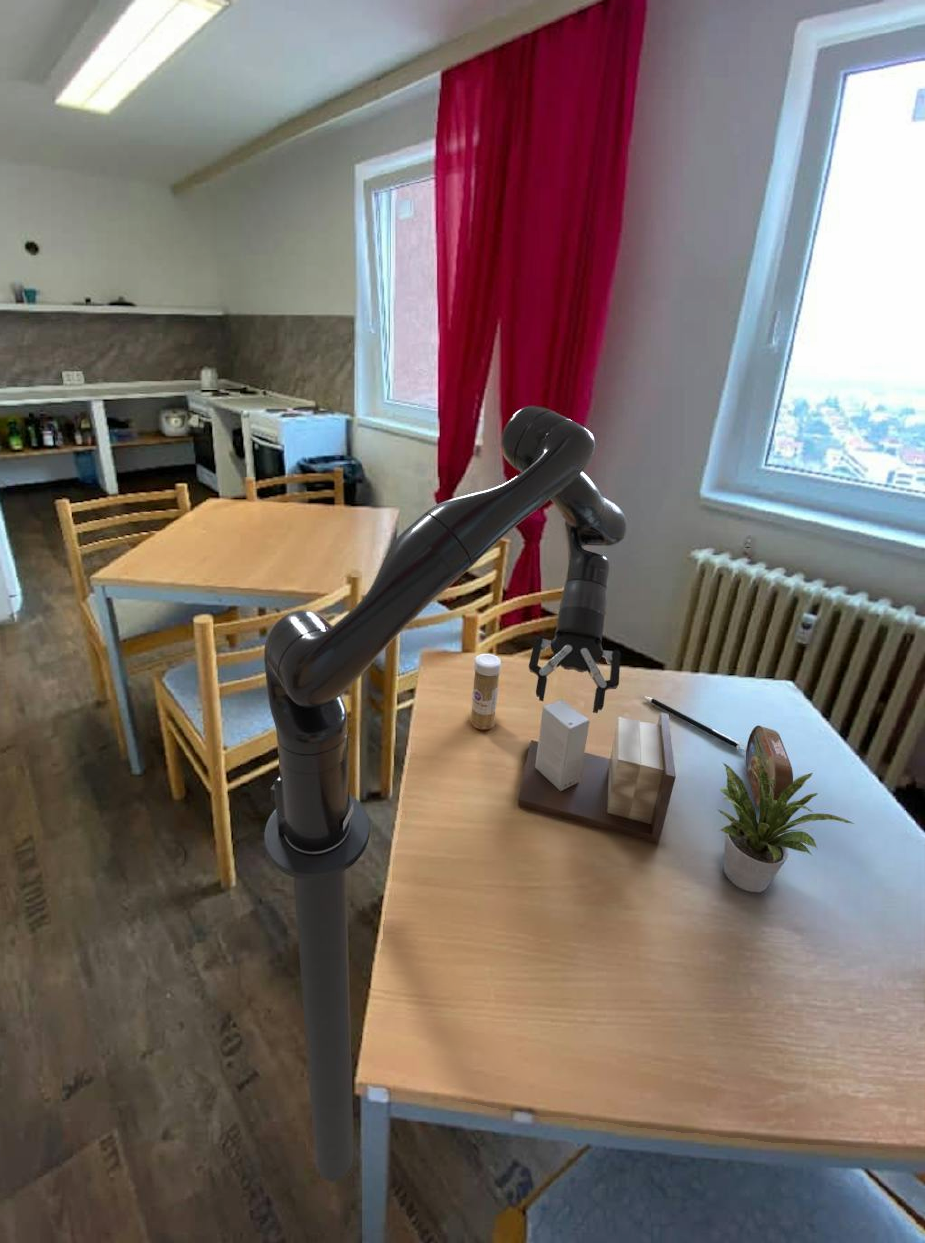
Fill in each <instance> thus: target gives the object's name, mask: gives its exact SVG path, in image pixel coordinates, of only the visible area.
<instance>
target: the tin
mask: <svg viewBox="0 0 925 1243" xmlns="http://www.w3.org/2000/svg"><path fill="white" fill-rule="evenodd" d="M745 749H746V751H745V757H744V758H745V760H744V761H745V770H746V773H747V777H748V780H749V784H750V787H751V791H752V795H753V799H754V802H755V805H756V806H757V808H759V806H760V782H759V780H758V778H757V777H756V775H755V774H754V772H753V771H752V769H753V770H754V771H755V772H756V774H757V775H758V777H759V778H760V775H759V771H758V768H757V764H756V761H755V758H754V754H753V751H754V753H755V754H756V755H757V756H758V758H759V760H760V762H761V764H762V765H763V767H764V768H765V770H766V772H767V774H768V778H769V784H770V786H771V788H772V790H773V793H774V800H777V801H778V799H779V796H780V794H781V793H782V792H783V791H784V790H785V789H786V788H787V787H788V786H789V785H790V784H791V783H793V782H794V771H793V767H792V764H791V761H790V759H789V758H790V757H789V756H788V753H787V751H786V748H785V746H784V742H783V740H782V737H781V735H780V733H778V731H776V730H774V729H771V728H768V727H764V726H762V725H756V726H755V727H753V729H752V730H751V732H750V734H749V737H748V739H747V744H746V748H745ZM750 767H751V768H752V769H751V768H750ZM771 788H770V793H771ZM787 804H788V802H787V803H786V804H785V806H786V805H787Z"/></svg>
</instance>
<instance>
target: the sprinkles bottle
mask: <svg viewBox="0 0 925 1243" xmlns="http://www.w3.org/2000/svg"><path fill="white" fill-rule="evenodd" d="M473 668H474V677H473V689H472V697H471V713H470V719H469V721H470V723H471V725H472V726H473V727H474V728H476V729H477V730H483V731H485V730H489V729H491V728H494V726H495V724H496V711H497V704H498V703H497V702H498V694H499V679H500V673H501V670H502V660H501V659H500V657H499V656H497V655H495V654H492V653H481V654H478V655H477V656H476V657H475V659H474V666H473Z"/></svg>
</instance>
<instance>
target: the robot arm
mask: <svg viewBox="0 0 925 1243" xmlns="http://www.w3.org/2000/svg"><path fill="white" fill-rule="evenodd" d="M595 441H596V440H595V437H594V435H593V433H592V432H591V431H590V430H589V429H587V428H586V427H584V426H582V425H581V424H580V423H578V422H576V421H574V420H571V419H570V418H567V416H564V415H561V414H560V413H558V412H556V411H554V410H552V409H550V408H547V407H545V406H540V405H528V406H525V407H522V408H521V409H519V410H517V411H516V412H515V413H514V414H513V415H512V417H510V419H509V420H508V422H507V423H506V425H505V426H504V429H503V432H502V434H501V440H500V448H501V453H502V456H503V457H504V459H505V461H507V462H508V464H509V465H510V466H511V467H513V468H514V469H515V470H516V471H519V473H518V474H517V475H516V476H514V477H513V478H511V479H509V480H508V481H506V482H504V483H502V484H500V485H498V486H495V487H493V488H488V489H485V490H481V491H478V492H477V491H476V492H473V493H470V494H466V495H462V496H458V497H454V498H451V499H448V500H445V501H443V502H439V503H438V504H435V505H434V506H432V507H431V508H430V509H428V510H427V511H425V513H423V514H422V515H420V517H418V519H416V520H415V521H414V522H413V523H411V525H409V526H408V527H407V528H406V529H404V531H403V532H402V533H400V534H399V535H398V537H396V539H395V540H394V541H393V543H392V544H391V546H389V549H388V551H387V553H386V555H385V556H384V559H383V561H382V563H381V565H380V567H379V570H378V572H377V575H376V577H375V579H374V581H373V582H372V584H371V586H370V588H369V589H368V591H367V593H366V594H365V595H364V596H363V598H362V599H361V600H360V601H359V602H358V604H357V605H355V607H354V608H352V609H351V610H350V611H348V613H347V614H345V616H343V617H342V618H341V619H340V620H339V621H337V622H336V623H335V624H334V625H332V623H331V622H330V621H328V619H327V618H326V617H325V616H323V615H321V614H320V613H318V612H315V611H312V610H307V609H306V610H304V609H303V610H295V611H292V612H290V613H287V614H285V615H284V616H282V617H281V618H280V619H278V621H276V622H275V624H274V625H273V626H272V628H271V629H270V630H269V633H268V635H267V638H266V640H265V644H264V650H263V657H264V662H263V663H264V671H265V680H266V681H265V682H266V687H267V696H268V704H269V710H270V713H271V717H272V719H273V723H274V726H275V734H276V742H277V743H276V744H277V745H276V746H277V756H278V769H279V775H278V777H277V778H276V779H275V780H274V783H273V785H272V786H271V787H270V788H269V790H270V791H269V792H270V802H271V803H275V809H276V812H277V823H278V835H279V836H281V837H284V838H285V840H286V842H287V844H288V845H289V847H290V848H291V849H293V850H294V851H296V852H297V853H300V854H303V855H307V856H320V855H324V854H328V853H330V852H332V851H334V850H336V849H337V848H339V847H340V846H341V845H342V844H343V843H344V842H345V841H346V839H347V837H348V835H349V833H350V829H351V819H350V817H351V815H352V813H353V811H354V808H353V804H352V806H351V808H350V795H351V793H350V761H349V760H350V759H349V758H350V756H349V718H348V710H347V707H346V705H345V702H344V700H343V697H342V695H343V694H344V693H346V692H347V690H349V689H350V687H352V686H353V685H354V684H355V683H356V681H358V679H360V677H361V676H362V675H363V674H364V673H365V672H366V670H367V669H368V668H369V667H371V665H372V664H373V663H374V662H375V661H376V660H377V658H378V657H379V656H380V655H381V654H382V652H384V650H385V649H386V648H387V647H388V646H389V645H390V644H391V643H392V642H393V640H395V639H396V637H397V636H398V635H399V634H401V632H402V631H404V629H406V627H408V626H409V624H411V623H412V622H413V621H414V620H415V619H416V618H417V617H418V616H419V615H420V614H421V613H422V612H423V611H424V610H426V608H427V607H429V605H431V603H433V602H434V601H435V600H436V599H437V598H438V597H439V596H440V595H441V594H442V593H444V592H445V591H447V589H449V588H450V587H451V586H453V584H454V583H456V582H457V581H458V580H459V579H460V578H461V577H462V576H464V574H465V573H466V572H468V571H469V570H470V569H471V568H472V567H473V566H474V565H475V564H476V563H477V562H478V561H479V560H480V559H481V558H482V557H483V556H485V554H486V553H488V551H490V550H491V549H492V548H493V547H494V546H496V544H498V542H499V541H500V540H502V539H503V538H504V537H505V536H506V535H507V534H508V533H509V532H511V531H512V530H513V529H514V528H516V526H518V525H519V524H520V523H522V522H523V521H524V520H525V519H527V518H528V517H529V516H531V515H532V514H533V513H534V512H536V511H537V510H539V509H540V508H541V507H542V506H544V505H545V504H547V503H548V502H549V501H551V503H552V504H553V505H554V507H555V508H556V509H557V511H558V512H559V513H560V515H561V517H562V518H563V519H564V533H565V538H566V545H567V560H568V561H567V569H566V575H565V582H564V587H563V590H562V594H561V597H560V602H559V609H558V617H557V621H556V629H555V635H554V637H553V639H552V640H550V639H546V638H543V637H542V636H541V635H537V636H535V638H534V641H533V646H532V651H531V655H530V659H529V663H528V670H529V672H530V673H531V674H534V675H536V676H537V681H536V687H535V688H536V689H535V694H536V697H537V698H538V701H539V702H544V700H545V694H546V689H547V684H548V676H549V675H550V674H552V673H553V672H554V671H556V670H557V669H558V668H560V667H561V668H563V669H564V670H568V671H571V670H573V671H576V672H578V673H585V672H587V673H588V674H589V676H590V678H591V679H592V680H593V682H594V684H595V686H596V687H595V688H596V689H595V692H594V701H593V706H592V708H593V709H592V713H594V714H598V713H599V711H602V710H603V709H604V705H605V697H606V691H608V690H615V689H618V686H619V685H620V673H621V672H620V670H621V651H620V650H618V649H614V650H605V649H603V646H602V640H603V634H604V626H605V620H606V619H605V618H606V615H607V611H606V610H607V601H608V600H607V599H608V596H607V592H608V586H609V578H610V577H609V576H610V571H611V570H610V569H611V568H610V567H611V566H610V565H611V564H610V560H609V559H608V558H607V557H606V556H604V555H603V554H600V553H598V552H594V551H590V550H587V549H585V548H584V547H586V546H588V547H590V546H591V547H592V546H595V547H613V546H616V545H618V544H619V543H621V542H622V541H623V540H624V538H625V536H626V534H627V529H628V528H627V520H626V516H625V514H624V512H623V511H622V510H621V508H620V507H619V506H618V505H617V504H615V503H614V502H612V501H611V500H609V499H608V498H606V497H604V496H602V494H601V493H600V492H601V491H600V490H599V489H598V487H597V485H596V484H595V483H594V482H593V480H592V479H591V478H590V477H589V476H588V475H587V474H586V473H585V472H583V471H584V470H585V469H586V468H587V466H588V465H589V463H590V462H591V460H592V457H593V456H594V453H595V448H596V442H595ZM548 648H550V649H551V652H552V653H553V655H554V656H553V657H552V658H551V659H549V660H548V661H547V663H546V664H545V665H543V666H542V667H541V666H539V660H540V656H541V653H544V652H546V651H547V649H548ZM602 658H604V659H605V662H606V664H607V665H609V666H610V669H609V670H610V671H609V672H610V673H609V679H607V680H605V679H604V676H603V675H602V673H601V671H600V668H599V667H598V665H597V663H598V662H599V661H600V660H601V659H602Z"/></svg>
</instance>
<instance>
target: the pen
mask: <svg viewBox="0 0 925 1243" xmlns="http://www.w3.org/2000/svg"><path fill="white" fill-rule="evenodd" d="M643 697H644V698H645V699H646V700H647V701H648V702H649V703H651V704H653V705H655V706H656V707H658V708H660V709H662V710H664V711H665V712H668V713H669V714H672V715H673V716H675V717H677V718H679V719H681V720H682V721H685V722H687V723H689V724H690V725H692V726H694V727H696V728H698V729H699V730H702V732H703V731H704V732H705V733H707V734H709V735H711V736H713V737H715V738H716V739H718V740H720V741H722V742H724V743H726V744H728V745H730V746H731V747H734V748H735V749H737V750H739V749H740V750H742V751H744V752H746V749H747V748H746V747H743V746H741V743H740V742H739V741H737V740H735V739H733V738H731V737H730V736H727V735H726V734H724V733H722V732H720V731H718V730H716V729H714V728H709V727H708V726H706V725H704V724H703V723H700V722H698V721H697V720H695V719H693V718H691V717H689V716H687V715H685V714H683V713H682V712H680V711H678V710H676V709H674V708H672V707H670V706H668V705H666V704H664V703H662V702H661V701H658V700H657V699H655V698H653V697H649V696H646V695H644V696H643Z"/></svg>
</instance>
